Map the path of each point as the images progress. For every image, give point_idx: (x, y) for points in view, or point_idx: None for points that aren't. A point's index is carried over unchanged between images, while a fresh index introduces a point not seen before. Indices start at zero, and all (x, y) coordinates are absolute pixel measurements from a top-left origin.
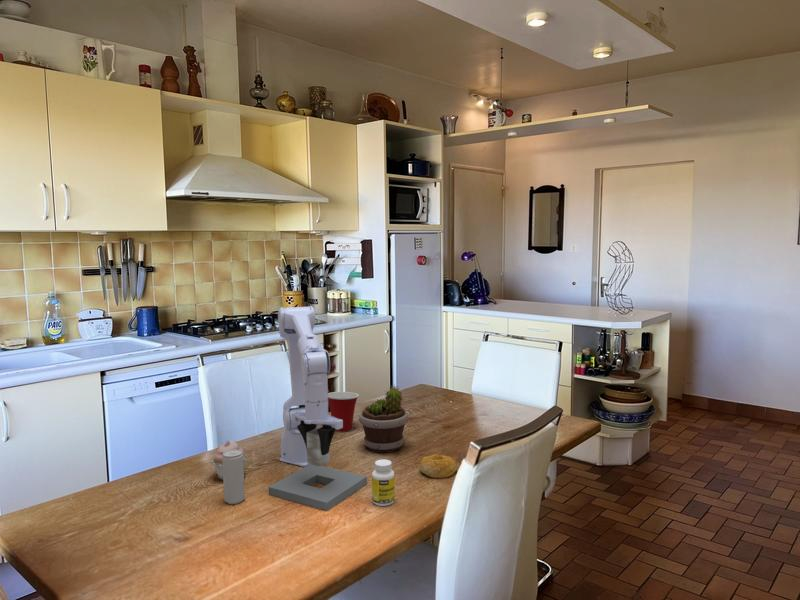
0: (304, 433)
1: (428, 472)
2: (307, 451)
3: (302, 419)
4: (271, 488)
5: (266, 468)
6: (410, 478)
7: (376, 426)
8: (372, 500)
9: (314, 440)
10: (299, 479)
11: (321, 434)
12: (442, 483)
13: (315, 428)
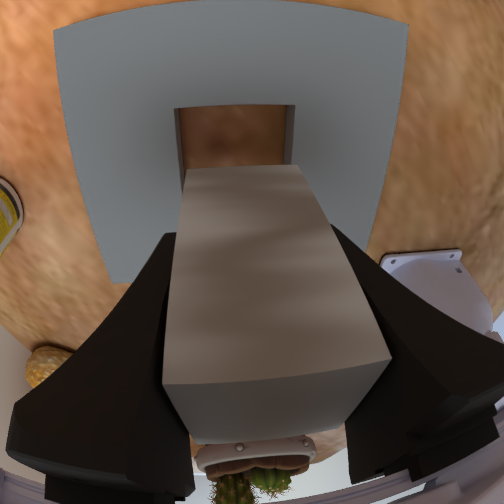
0: (412, 337)
1: (45, 353)
2: (318, 211)
3: (497, 498)
4: (391, 20)
5: (477, 198)
6: (69, 329)
7: (238, 444)
8: (2, 183)
9: (247, 307)
10: (331, 135)
11: (80, 396)
12: (15, 333)
13: (346, 422)
